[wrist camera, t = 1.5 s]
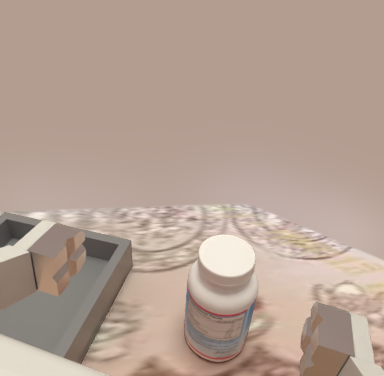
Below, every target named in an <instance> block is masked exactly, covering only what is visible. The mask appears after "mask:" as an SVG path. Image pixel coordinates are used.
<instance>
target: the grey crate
mask: <svg viewBox="0 0 384 376" xmlns="http://www.w3.org/2000/svg"><path fill="white" fill-rule="evenodd" d="M41 221H42V220H38V219H33V218H29V217H24V216H20V215H15V214H11V213H6V212H4V213H3V214H2V215H1V216H0V248H2V247H5V246H8V245H10V246H14V245H15V244H16V243H17V242H18V241H19V240H20V239H22V238H23V237H24V236H25V235H26V234H27V233H28V232H30V231H31V230H32V229H33V228H34V227H35V226H36V225H37V224H39V223H40V222H41ZM68 227H69V226H68ZM71 228H73V227H71ZM74 229H77V230H80V231H83V232H84V233H85V241H84V242H83V243H82V244H83V246H84V247H85V249H86V258H85V262H84V264H83V266H82V268H81V269H80V271H79V272H78V273H77V274H76V275H73V276H71V277H70V283H69V285H68V286H67V287H66V288H65V290H64V291H63V292H62V293H61V295H60V296H59V297H58V296H55V295H51V294H48V293H45V292H42V291H39V290H37V291H36V292H35V293H33V294H31V295H29V296H27V297H25V298H23V299H21V300H20V301H18V302H16V303H14V304H12V305H10V306H8V307H7V308H5V309H3V310H1V311H0V334H3V335H5V336H8V337H10V338H13V339H16V340H18V341H21V342H24V343H26V344H29V345H31V346H34V347H37V348H39V349H42V350H45V351H47V352H50V353H52V354H55V355H58V356H60V357H63V358H66V359H68V360H71V361H73V362H76V363H79V364H81V362H82V360H83V359H84V357H85V355H86V353H87V351H88V349H89V347H90V345H91V343H92V341H93V340H94V338H95V336H96V334H97V332H98V330H99V328H100V326H101V324H102V323H103V321H104V319H105V317H106V315H107V313H108V311H109V309H110V307H111V305H112V304H113V302H114V300H115V298H116V296H117V294H118V292H119V290H120V288H121V286H122V285H123V283H124V281H125V279H126V277H127V275H128V273H129V271H130V269H131V267H132V266H133V263H132V247H131V240H127V239H123V238H118V237H114V236H109V235H105V234H100V233H96V232H91V231H87V230H82V229H78V228H74Z"/></svg>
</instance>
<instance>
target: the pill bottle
mask: <svg viewBox="0 0 384 376" xmlns="http://www.w3.org/2000/svg"><path fill="white" fill-rule="evenodd" d="M255 261H256V257H255V253H254V250H253V249H252V247H251V246H250V245H249V244H248V243H247V242H246V241H244V240H242V239H241V238H238V237H236V236H232V235H216V236H213V237H210V238H208V239H207V240H205V241H204V242H203V243H202V245H201V246H200V249H199V253H198V259H197V261H196V262H195V263H194V264H193V265H192V267H191V269H190V271H189V275H188V283H187V295H186V310H185V323H184V333H185V338H186V341H187V343H188V345H189V346H190V347H191V349H192V350H193V351H194V352H195V353H197V354H198V355H199V356H201V357H202V358H204V359H207V360H210V361H214V362H222V361H227V360H230V359H232V358H234V357H235V356H236V355H237V354H239V353H240V351H241V350H242V349H243V347H244V345H245V342H246V338H247V334H248V330H249V326H250V322H251V318H252V314H253V310H254V306H255V301H256V297H257V293H258V279H257V276H256V273H255V271H254V267H255Z"/></svg>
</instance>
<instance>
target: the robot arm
mask: <svg viewBox="0 0 384 376" xmlns="http://www.w3.org/2000/svg"><path fill="white" fill-rule="evenodd" d="M84 241H85V233H84V232H83V231H80V230H77V229H74V228H71V227H68V226H65V225H62V224H59V223H55V222H52V221H49V220H47V219H46V220H43V221H41V222H40V223H39V224H37V225H36V226H35V227H34V228H33V229H32V230H31V231H30V232H28V233H27V234H26V235H25V236H24V237H23V238H22V239H20V240H19V241H18V242H17V243H16V244H15V245H14V246H10V245H8V246H5V247H2V248H0V311H1V310H3V309H5V308H7V307H8V306H10V305H12V304H14V303H16V302H18V301H20V300H21V299H23V298H25V297H27V296H29V295H31V294H33V293H35V292H36V291H37V290H39V291H42V292H45V293H48V294H51V295H55V296H58V297H59V296H60V295H61V293H62V292H63V291H64V290H65V288H66V287H67V286H68V285H69V283H70V277H71V276H73V275H76V274H77V273H78V272H79V271H80V269H81V268H82V266H83V264H84V262H85V258H86V249H85V247H84V246H83V244H82V243H83V242H84ZM301 349H302V351H303V352H304V354H303V356H302V358H301V360H300V376H384V370H383V369H382V368H381V366H379V365H376V364H375V360H374V355H373V349H372V343H371V337H370V331H369V326H368V320H367V318H366V317H365V316H362V315H359V314H355V313H352V312H348V311H345V310H342V309H338V308H335V307H332V306H328V305H325V304H321V303H318V302H315V303H314V304H313V306H312V309H311V317H309V318H307V319H306V322H305V324H304V327H303V331H302V336H301ZM0 376H110V375H108V374H105V373H102V372H100V371H97V370H94V369H92V368H89V367H87V366H84V365H81V364H79V363H76V362H73V361H71V360H68V359H66V358H63V357H60V356H58V355H55V354H52V353H50V352H47V351H45V350H42V349H39V348H37V347H34V346H31V345H29V344H26V343H24V342H21V341H18V340H16V339H13V338H10V337H8V336H5V335H3V334H0Z"/></svg>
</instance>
